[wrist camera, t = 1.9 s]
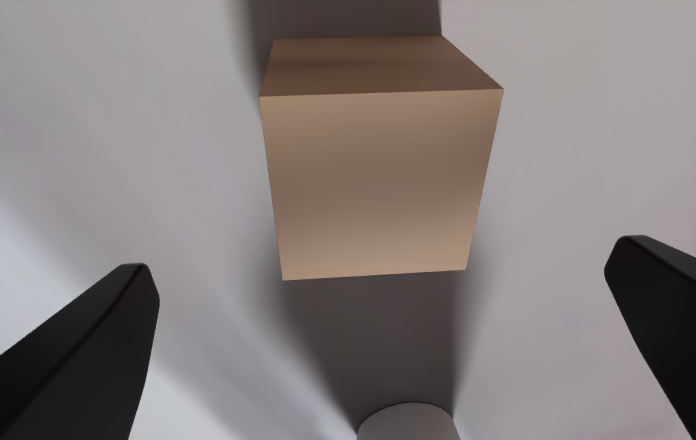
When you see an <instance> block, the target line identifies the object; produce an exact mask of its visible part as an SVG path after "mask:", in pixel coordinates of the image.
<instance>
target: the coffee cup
mask: <svg viewBox="0 0 696 440" xmlns="http://www.w3.org/2000/svg"><path fill="white" fill-rule="evenodd" d="M357 440H461V439H460V437H459V434H458V432H457V429H456V427H455V425H454V422H453V420H452V418H451V416H450V415H449V414H448V413H447V412H446V411H444V410H443V409H441V408H439V407H437V406H434V405H431V404H426V403H418V402H409V403H401V404H396V405H393V406H389V407H387V408H384V409H382V410H380V411H378V412H376V413H374V414H373V415H371V416H370V417H369V418H367V419H366V420H365V421H364V422H363V423H362V424H361V426H360V427H359V429H358V433H357Z"/></svg>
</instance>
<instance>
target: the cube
mask: <svg viewBox="0 0 696 440" xmlns="http://www.w3.org/2000/svg"><path fill="white" fill-rule="evenodd" d="M503 91H504V88H502V87H501V86H500V85H499V84H498V83H497V82H495V81H494V80H493V79H492V78H491V77H490V76H488V75H487V74H486V73H485V72H484V71H483V70H482V69H480V68H479V67H478V66H477V65H476V64H475V63H473V62H472V61H471V60H470V59H469V58H468V57H467V56H465V55H464V54H463V53H462V52H461V51H460V50H458V49H457V48H456V47H455V46H454V45H453V44H451V43H450V42H449V41H448V40H447V39H446V38H445V37H443V36H442V35H427V36H384V37H341V38H298V39H274V41H273V45H272V49H271V53H270V56H269V60H268V64H267V68H266V71H265V75H264V79H263V83H262V86H261V90H260V94H259V103H260V111H261V118H262V126H263V134H264V141H265V149H266V157H267V164H268V172H269V180H270V187H271V195H272V203H273V210H274V218H275V226H276V233H277V241H278V249H279V256H280V264H281V272H282V279H283V280H299V279H316V278H333V277H350V276H367V275H384V274H401V273H418V272H435V271H452V270H466V266H467V261H468V256H469V252H470V247H471V242H472V237H473V233H474V228H475V223H476V219H477V214H478V209H479V204H480V200H481V195H482V190H483V186H484V181H485V176H486V172H487V167H488V162H489V157H490V153H491V148H492V143H493V139H494V134H495V129H496V124H497V120H498V115H499V110H500V106H501V101H502V96H503Z"/></svg>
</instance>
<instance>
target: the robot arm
mask: <svg viewBox="0 0 696 440" xmlns="http://www.w3.org/2000/svg"><path fill="white" fill-rule="evenodd" d="M604 276H605V279H606V282H607V284H608V286H609V288H610V290H611V292H612V294H613V297H614V299H615V301H616V303H617V305H618V307H619V309H620V312H621V314H622V316H623V318H624V320H625V322H626V324H627V326H628V329H629V331H630V333H631V335H632V337H633V339H634V341H635V343H636V345H637V347H638V349H639V351H640V352H641V354H642V356H643V358H644V359H645V361H646V363H647V364H648V366H649V368H650V369H651V371H652V373H653V374H654V376H655V378H656V379H657V381H658V383H659V384H660V386H661V388H662V389H663V391H664V393H665V394H666V396H667V398H668V399H669V401H670V403H671V404H672V406H673V408H674V409H675V411H676V413H677V414H678V416H679V418H680V419H681V421H682V423H683V424H684V426H685V428H686V430H687V431H688V433H689V435H690V436H691V438H692V440H696V257H693V256H691V255H689V254H687V253H684V252H682V251H680V250H678V249H675V248H673V247H671V246H668V245H666V244H664V243H662V242H659V241H657V240H655V239H653V238H650V237H648V236H645V235H627V236H622V237H620V238H619V239H618V240H617V242H616V244H615V246H614V248H613V250H612V252H611V254H610V256H609V259H608V261H607V263H606V265H605V268H604ZM159 307H160V298H159V294H158V291H157V288H156V286H155V283H154V280H153V278H152V275H151V272H150V270H149V268H148V266H147V265H146V264H144V263H129V264H122V265H120V266H118V267H117V268H115V269H114V270H113V271H111V272H110V273H109V274H107V275H106V276H105V277H103V278H102V279H101V280H99V281H98V282H97V283H95V284H94V285H93V286H91V287H90V288H89V289H87V290H86V291H85V292H83V293H82V294H81V295H79V296H78V297H77V298H76V299H74V300H73V301H72V302H70V303H69V304H68V305H66V306H65V307H64V308H62V309H61V310H60V311H58V312H57V313H56V314H54V315H53V316H52V317H50V318H49V319H48V320H46V321H45V322H44V323H42V324H41V325H40V326H38V327H37V328H36V329H34V330H33V331H32V332H30V333H29V334H28V335H26V336H25V337H24V338H22V339H21V340H20V341H19V342H17V343H16V344H15V345H13V346H12V347H11V348H9V349H8V350H7V351H5V352H4V353H3V354H1V355H0V440H128V438H129V435H130V431H131V428H132V425H133V422H134V419H135V415H136V412H137V409H138V406H139V402H140V399H141V396H142V392H143V389H144V385H145V381H146V376H147V372H148V366H149V361H150V356H151V350H152V345H153V339H154V334H155V329H156V323H157V318H158V312H159Z"/></svg>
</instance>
